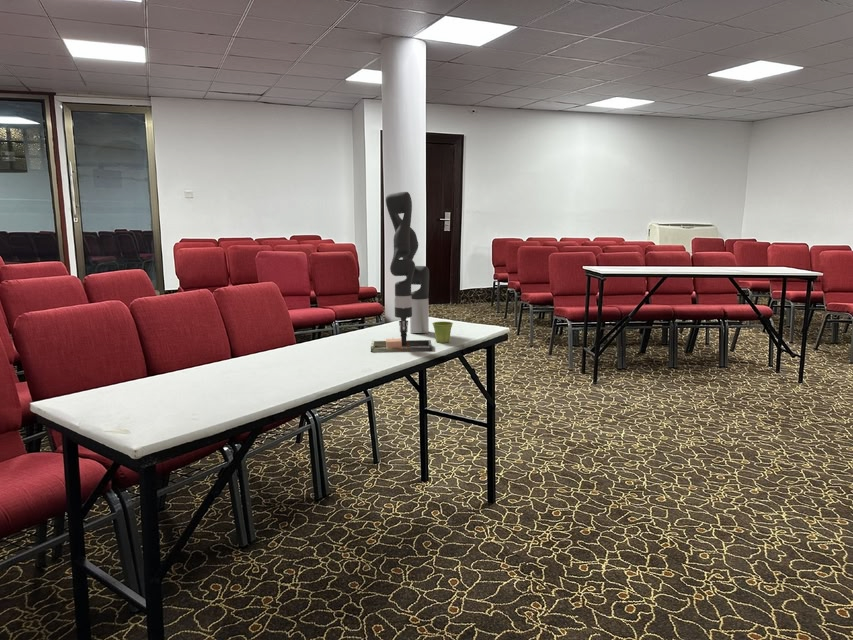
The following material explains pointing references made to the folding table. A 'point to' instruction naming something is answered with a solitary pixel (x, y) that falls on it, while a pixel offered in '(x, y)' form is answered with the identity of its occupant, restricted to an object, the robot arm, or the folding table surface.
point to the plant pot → (442, 331)
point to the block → (394, 343)
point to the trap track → (411, 343)
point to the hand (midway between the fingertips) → (403, 345)
